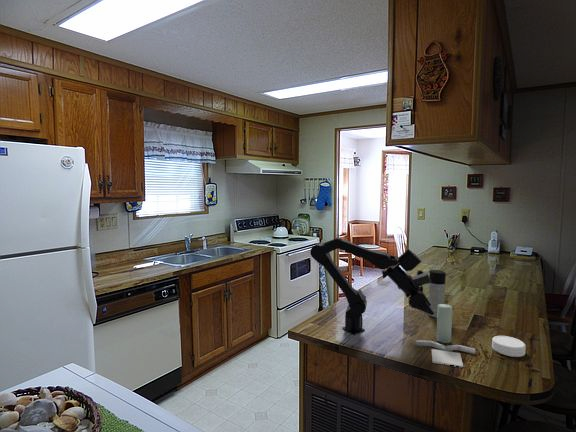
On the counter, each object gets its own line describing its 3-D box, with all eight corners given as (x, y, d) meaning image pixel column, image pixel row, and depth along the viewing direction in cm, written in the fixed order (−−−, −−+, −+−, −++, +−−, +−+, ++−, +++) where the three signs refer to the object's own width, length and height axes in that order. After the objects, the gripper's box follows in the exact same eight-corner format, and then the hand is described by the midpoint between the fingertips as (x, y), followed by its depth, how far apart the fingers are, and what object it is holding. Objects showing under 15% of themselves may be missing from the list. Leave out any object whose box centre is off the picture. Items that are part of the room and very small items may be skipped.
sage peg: (445, 344, 127) (447, 309, 126) (433, 339, 131) (434, 305, 130) (453, 341, 130) (455, 307, 129) (441, 336, 134) (442, 303, 133)
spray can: (439, 312, 159) (441, 269, 157) (446, 318, 152) (448, 273, 150) (425, 312, 159) (426, 269, 157) (431, 318, 152) (433, 273, 150)
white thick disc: (520, 346, 126) (520, 337, 125) (529, 359, 116) (530, 349, 116) (488, 342, 129) (489, 333, 129) (495, 355, 120) (495, 345, 119)
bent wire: (416, 347, 125) (416, 342, 125) (416, 342, 128) (416, 338, 128) (475, 356, 118) (476, 351, 118) (474, 351, 122) (474, 346, 122)
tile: (432, 362, 114) (432, 360, 114) (431, 350, 122) (431, 348, 122) (463, 367, 111) (463, 365, 111) (459, 354, 119) (460, 353, 119)
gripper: (419, 271, 122) (453, 304, 120) (415, 260, 140) (444, 289, 138) (395, 291, 125) (427, 324, 123) (394, 278, 142) (422, 306, 140)
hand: (431, 309), depth 131 cm, fingers open, 9 cm apart
